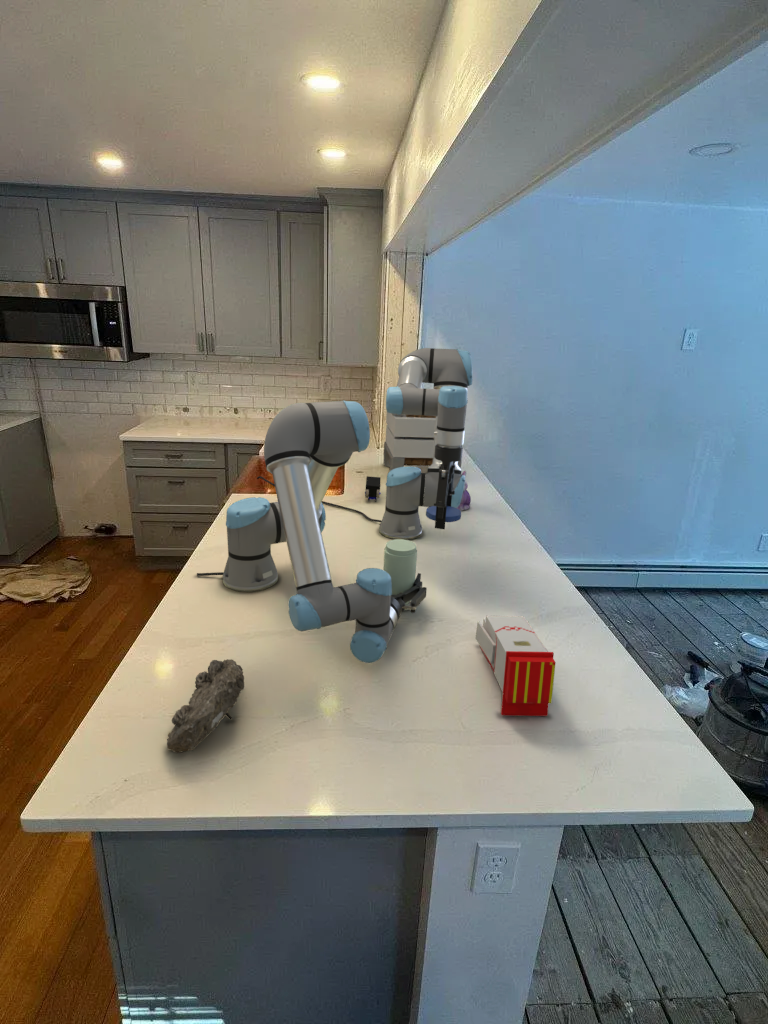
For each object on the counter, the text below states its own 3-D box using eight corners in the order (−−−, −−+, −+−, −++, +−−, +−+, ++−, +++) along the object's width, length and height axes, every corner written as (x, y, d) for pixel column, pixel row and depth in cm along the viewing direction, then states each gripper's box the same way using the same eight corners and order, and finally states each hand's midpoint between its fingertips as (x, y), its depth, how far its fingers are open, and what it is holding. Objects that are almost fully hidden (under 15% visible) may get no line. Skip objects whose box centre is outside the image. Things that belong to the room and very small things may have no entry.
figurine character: (380, 506, 230) (380, 491, 243) (381, 489, 227) (381, 475, 240) (364, 506, 230) (364, 491, 243) (364, 489, 226) (365, 474, 240)
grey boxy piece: (382, 463, 289) (386, 382, 275) (445, 464, 293) (451, 384, 279) (390, 482, 257) (394, 392, 243) (460, 483, 261) (468, 394, 247)
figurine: (457, 512, 223) (460, 476, 218) (443, 504, 231) (446, 469, 226) (477, 509, 227) (480, 473, 222) (462, 502, 236) (465, 467, 230)
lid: (418, 515, 160) (419, 510, 159) (440, 508, 167) (440, 502, 166) (446, 525, 154) (447, 519, 153) (467, 516, 161) (468, 511, 160)
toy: (522, 601, 137) (564, 658, 107) (517, 652, 139) (557, 722, 110) (472, 600, 136) (500, 657, 107) (468, 651, 139) (495, 721, 110)
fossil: (192, 660, 117) (244, 628, 112) (224, 691, 120) (276, 661, 115) (142, 746, 98) (202, 712, 93) (182, 779, 101) (242, 748, 96)
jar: (420, 604, 153) (424, 545, 147) (398, 614, 147) (401, 554, 142) (397, 592, 159) (400, 536, 153) (375, 602, 153) (377, 543, 147)
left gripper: (339, 622, 138) (364, 582, 159) (426, 636, 133) (440, 593, 154) (340, 594, 135) (365, 557, 156) (428, 608, 131) (442, 568, 152)
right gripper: (441, 435, 165) (436, 508, 172) (428, 452, 144) (422, 534, 151) (467, 438, 163) (460, 511, 170) (457, 455, 142) (450, 537, 150)
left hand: (402, 575), depth 155 cm, fingers closed on jar, 9 cm apart
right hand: (442, 522), depth 161 cm, fingers closed on lid, 10 cm apart
